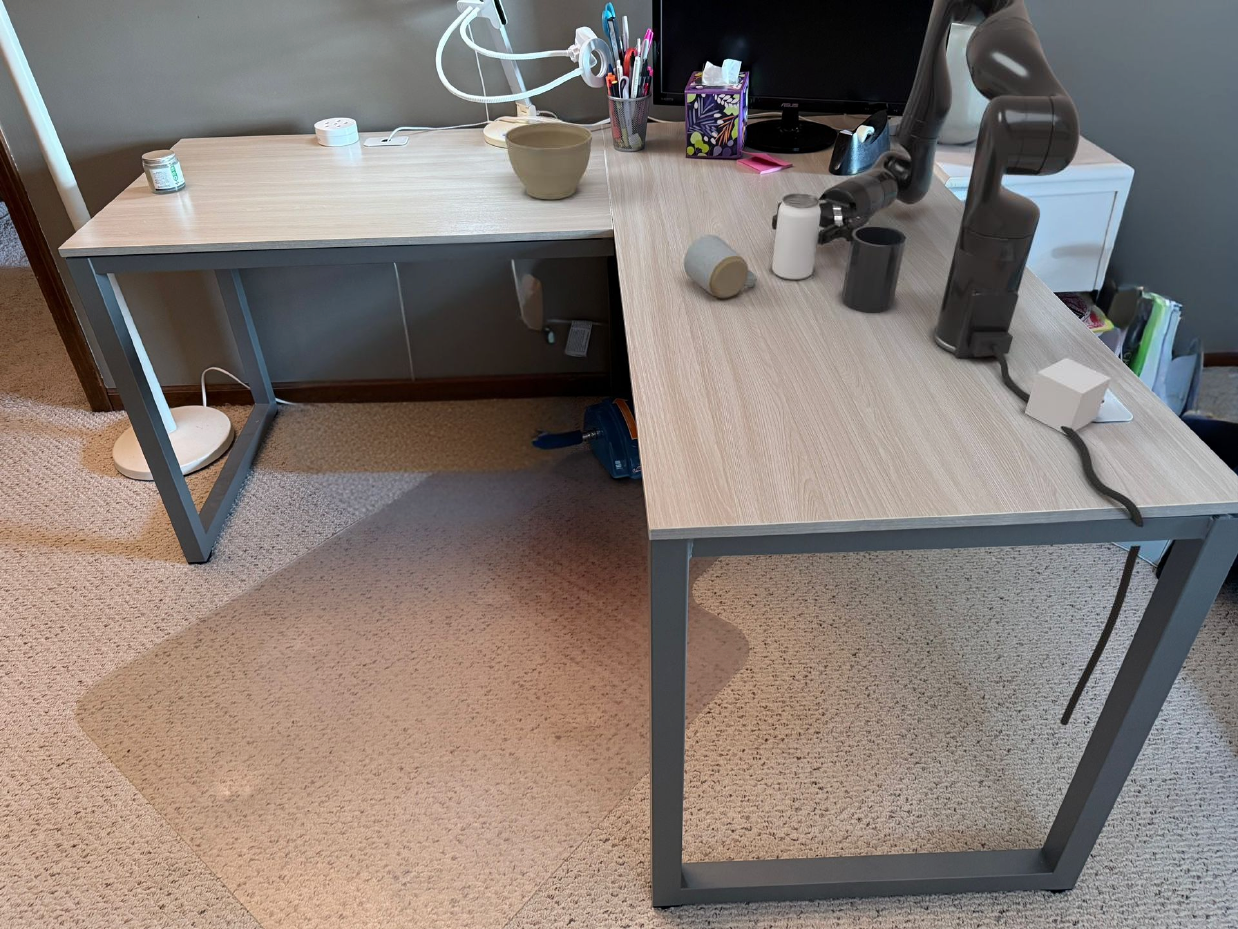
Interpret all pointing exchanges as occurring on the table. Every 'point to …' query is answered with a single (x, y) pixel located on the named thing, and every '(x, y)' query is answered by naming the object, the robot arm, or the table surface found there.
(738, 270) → the ceramic mug
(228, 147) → the table surface
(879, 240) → the pen cup
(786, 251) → the can
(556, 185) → the planter bowl
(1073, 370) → the white cube
